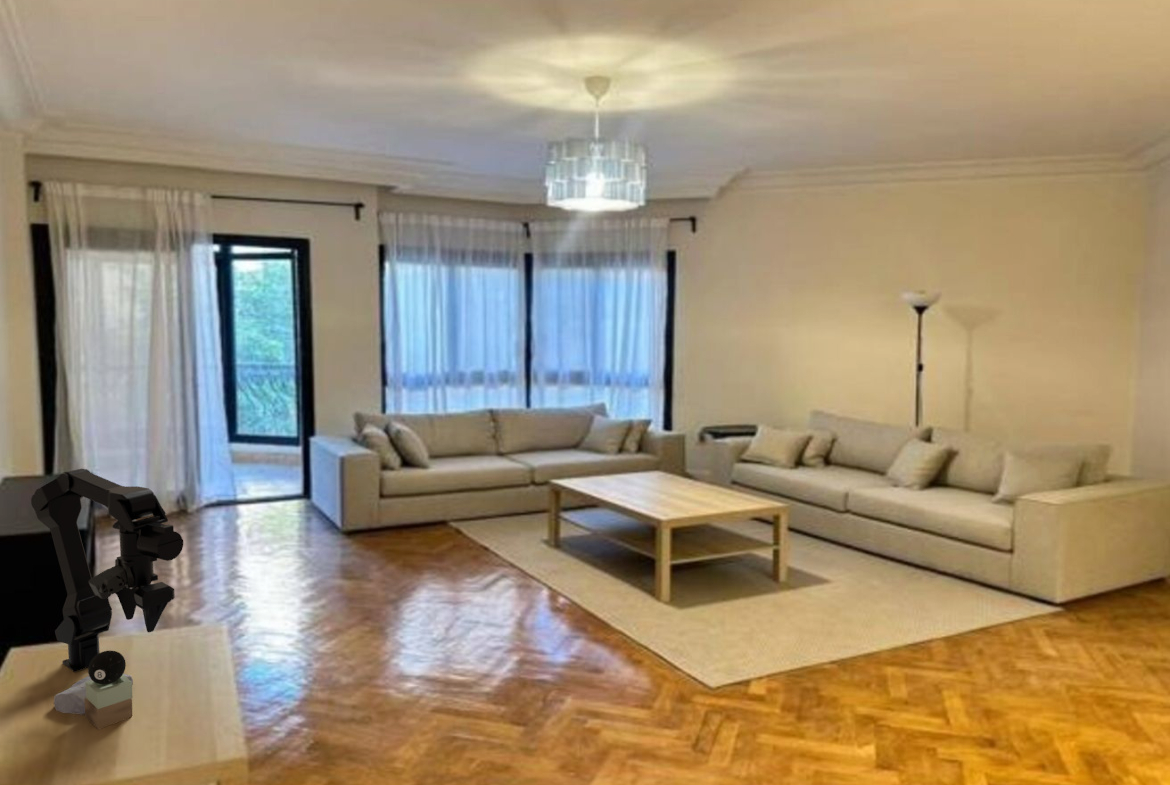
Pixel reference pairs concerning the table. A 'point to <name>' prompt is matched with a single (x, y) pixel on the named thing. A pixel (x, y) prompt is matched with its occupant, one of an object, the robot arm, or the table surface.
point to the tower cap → (108, 692)
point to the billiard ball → (106, 667)
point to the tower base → (108, 713)
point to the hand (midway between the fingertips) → (139, 625)
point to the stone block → (75, 697)
